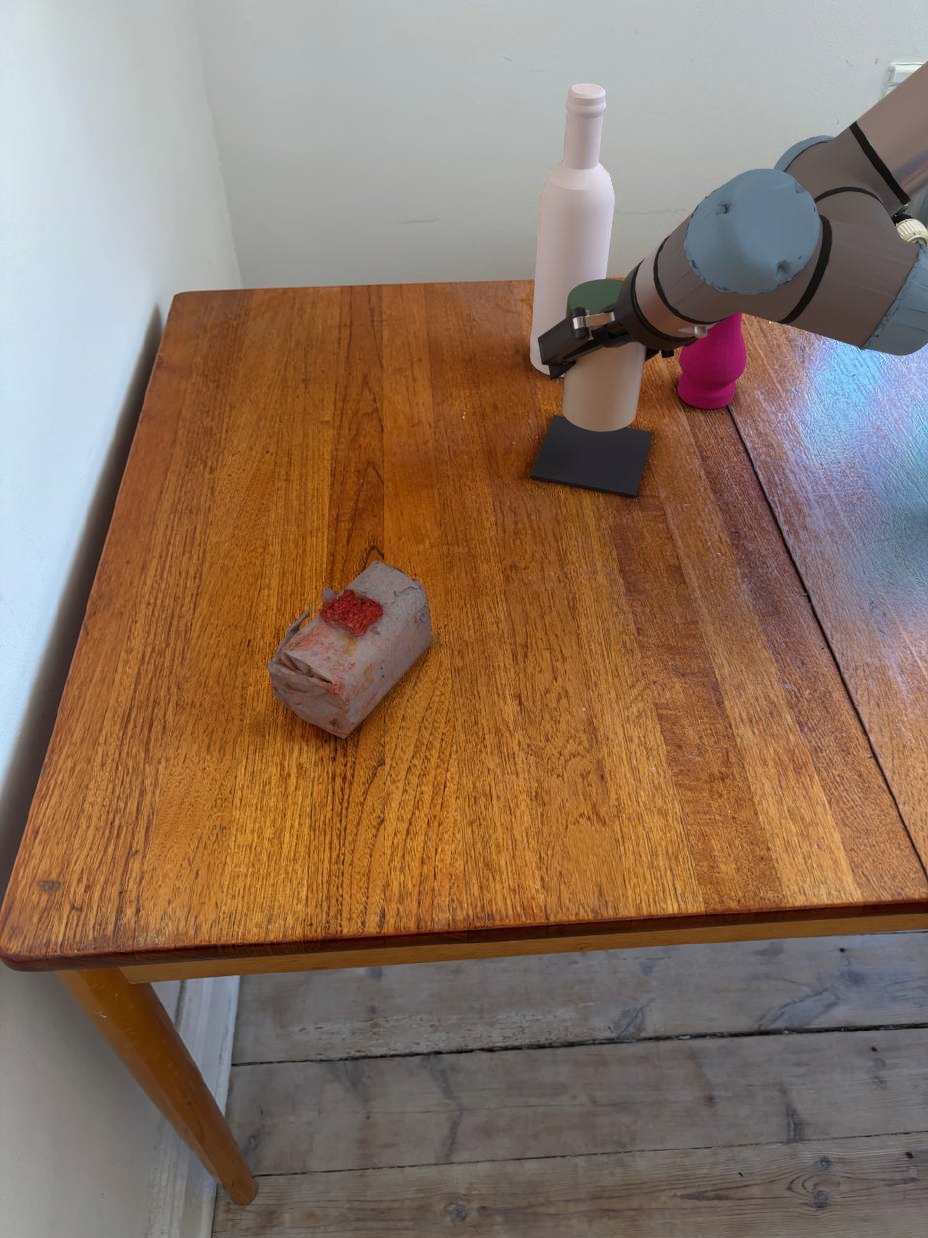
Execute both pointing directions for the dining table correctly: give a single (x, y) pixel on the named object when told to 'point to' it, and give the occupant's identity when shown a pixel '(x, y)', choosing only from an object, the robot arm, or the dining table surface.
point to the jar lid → (594, 295)
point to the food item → (352, 649)
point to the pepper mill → (713, 365)
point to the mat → (592, 457)
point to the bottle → (572, 216)
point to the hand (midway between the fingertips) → (591, 360)
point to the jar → (604, 388)
